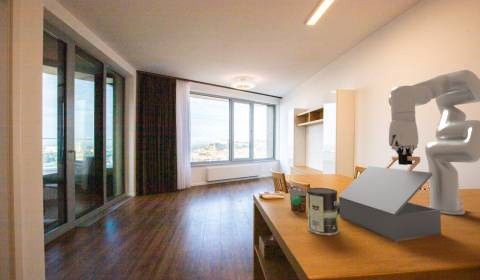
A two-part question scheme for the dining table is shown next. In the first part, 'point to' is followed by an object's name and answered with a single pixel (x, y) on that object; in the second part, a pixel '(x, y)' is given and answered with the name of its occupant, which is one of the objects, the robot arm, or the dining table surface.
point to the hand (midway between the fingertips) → (405, 164)
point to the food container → (297, 199)
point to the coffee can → (322, 211)
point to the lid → (386, 187)
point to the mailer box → (394, 220)
